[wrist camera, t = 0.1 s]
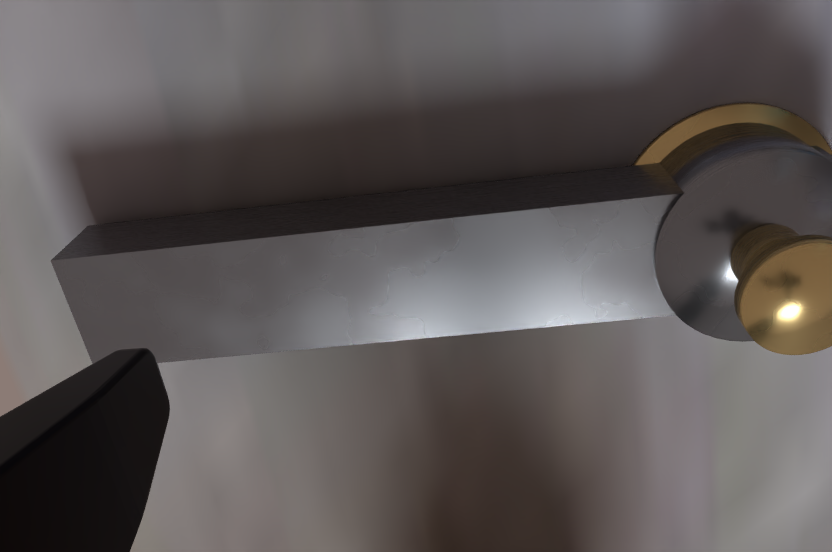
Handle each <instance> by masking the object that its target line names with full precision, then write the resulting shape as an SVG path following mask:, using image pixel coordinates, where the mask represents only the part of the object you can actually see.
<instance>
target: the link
mask: <svg viewBox="0 0 832 552" xmlns="http://www.w3.org/2000/svg"><path fill="white" fill-rule="evenodd" d="M770 224H778V225H784V226H787V227H789V228H791V229H793V230H794V231H796V232H797V233H798V234H799V235H800V236H802V235H823V236H828V237H832V155H831V154H829V153H828V152H826V151H825V150H823V149H822V148H820V147H819V146H817V145H816V146H810V145H808V144H807V143H805V142H804V141H802V140H801V139H799V138H798V137H796V136H795V135H793V134H791V133H789V132H788V131H786V130H783V129H781V128H778V127H775V126H772V125H767V124H762V123H750V122H747V123H733V124H728V125H722V126H719V127H715V128H712V129H709V130H706V131H704V132H702V133H699V134H697V135H695V136H693V137H691V138H690V139H688V140H686V141H684V142H683V143H682V144H680V145H679V146H677V147H676V148H675V149H673V150H672V151H671V152H670V153H669V154H668V155H667V156H666V157H664V158H663V159H662V161H661V162H660V163H653V164H644V165H635V166H626V167H616V168H607V169H598V170H589V171H580V172H571V173H562V174H553V175H544V176H535V177H526V178H517V179H508V180H499V181H490V182H481V183H472V184H463V185H454V186H444V187H435V188H426V189H417V190H408V191H399V192H390V193H381V194H372V195H363V196H354V197H345V198H336V199H327V200H318V201H309V202H300V203H291V204H281V205H272V206H263V207H254V208H245V209H236V210H227V211H218V212H209V213H200V214H191V215H182V216H173V217H164V218H155V219H146V220H137V221H128V222H119V223H109V224H100V225H91V226H87V227H86V228H85V229H84V230H83V231H82V232H81V233H80V234H79V235H78V236H77V237H76V238H74V239H73V240H72V241H71V242H70V243H69V244H68V245H67V246H66V247H65V248H64V249H63V250H62V251H61V252H59V253H58V254H57V255H56V256H55V257H54V258H53V259H52V260H51V263H52V265H53V268H54V270H55V272H56V275H57V277H58V280H59V282H60V285H61V287H62V290H63V292H64V294H65V297H66V299H67V302H68V304H69V307H70V309H71V312H72V314H73V317H74V319H75V321H76V324H77V326H78V329H79V331H80V334H81V336H82V339H83V341H84V344H85V346H86V348H87V351H88V353H89V356H90V358H91V361H92V363H93V364H94V363H95V362H97V361H99V360H101V359H102V358H104V357H106V356H108V355H109V354H111V353H113V352H115V351H117V350H122V349H136V348H147V349H148V350H150V351H151V352H152V353H153V355H154V356H155V359H156V361H157V363H162V362H173V361H184V360H195V359H205V358H216V357H227V356H238V355H249V354H260V353H271V352H281V351H292V350H303V349H314V348H325V347H336V346H347V345H357V344H368V343H379V342H390V341H401V340H412V339H423V338H433V337H444V336H455V335H466V334H477V333H488V332H499V331H509V330H520V329H531V328H542V327H553V326H564V325H575V324H585V323H596V322H607V321H618V320H629V319H640V318H651V317H661V316H672V315H677V316H678V317H679V318H680V319H681V320H682V321H683V322H684V323H686V324H687V325H689V326H690V327H692V328H693V329H695V330H697V331H699V332H701V333H703V334H705V335H709V336H712V337H715V338H719V339H724V340H729V341H754V340H753V339H752V338H751V336H750V335H749V334H748V332H747V331H746V329H745V328H744V326H743V325H742V324H741V322H740V320H739V319H738V317H737V314H736V311H735V306H734V295H735V289H736V286H737V283H738V279H737V278H736V277H735V275H734V274H733V272H732V269H731V255H732V252H733V250H734V248H735V246H736V244H737V243H738V242H739V240H740V239H741V238H742V237H743V236H745V235H746V234H747V233H749V232H750V231H752V230H754V229H756V228H758V227H761V226H765V225H770Z"/></svg>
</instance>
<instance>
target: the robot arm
mask: <svg viewBox="0 0 832 552" xmlns="http://www.w3.org/2000/svg"><path fill="white" fill-rule="evenodd" d="M169 412H170V405H169V399H168V395H167V392H166V389H165V386H164V383H163V380H162V377H161V374H160V370H159V367H158V364H157V361H156V359H155V356H154V355H153V353H152V352H151V351H150V350H148V349H147V348H136V349H122V350H117V351H115V352H113V353H111V354H109V355H108V356H106V357H104V358H102V359H101V360H99V361H97V362H95V363H94V364H92V365H90V366H88V367H87V368H85V369H83V370H81V371H80V372H78V373H76V374H74V375H73V376H71V377H69V378H67V379H66V380H64V381H62V382H60V383H59V384H57V385H55V386H53V387H52V388H50V389H48V390H46V391H45V392H43V393H41V394H39V395H38V396H36V397H34V398H32V399H30V400H29V401H27V402H25V403H23V404H22V405H20V406H18V407H16V408H15V409H13V410H11V411H10V412H8V413H6V414H4V415H2V416H1V417H0V552H130V549H131V547H132V544H133V542H134V539H135V536H136V534H137V531H138V528H139V525H140V523H141V520H142V517H143V513H144V510H145V507H146V503H147V500H148V496H149V492H150V488H151V484H152V480H153V477H154V473H155V469H156V465H157V461H158V457H159V454H160V450H161V446H162V442H163V438H164V434H165V431H166V427H167V423H168V419H169Z"/></svg>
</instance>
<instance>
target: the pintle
mask: <svg viewBox="0 0 832 552" xmlns="http://www.w3.org/2000/svg"><path fill="white" fill-rule="evenodd" d="M747 122H750V123H762V124H767V125H772V126H775V127H778V128H781V129H783V130H786V131H788V132H789V133H791V134H793V135H795V136H796V137H798V138H799V139H801V140H802V141H804V142H805V143H807V144H808V145H810V146H816V145H817V146H819V147H820V148H822V149H823V150H825V151H826V152H828V153H829V154H831V155H832V151H831V149H830V147H829V146H828V144H827V142H826V141H825V139H824V138H823V137H822V136H821V135H820V133H819V132H818V131H817V130H816V129H815V128H814V127H813V126H811V125H810V124H809V123H807V122H806V121H805V120H803V119H802V118H800V117H798V116H796V115H795V114H793V113H791V112H789V111H786V110H784V109H781V108H778V107H775V106H770V105H766V104H759V103H732V104H726V105H720V106H716V107H712V108H709V109H706V110H702V111H700V112H697V113H695V114H693V115H691V116H688V117H686V118H684V119H683V120H681V121H679V122H677V123H676V124H674V125H672V126H671V127H670V128H668V129H667V130H665V131H664V132H663V133H661V134H660V135H659V136H658V137H657V138H656V139H655V140H654V141H652V142H651V143H650V144H649V145H648V146H647V148H646V149H645V150H644V151H643V152H642V153H641V154H640V156H639V157H638V158H637V160H636V161H635V163H634V164H633V166H635V165H644V164H653V163H660V162H661V161H662V159H663V158H664V157H666V156H667V155H668V154H669V153H670V152H671V151H672V150H673V149H675V148H676V147H677V146H679V145H680V144H682V143H683V142H684V141H686V140H688V139H690V138H691V137H693V136H695V135H697V134H699V133H702V132H704V131H706V130H709V129H712V128H715V127H719V126H722V125H728V124H733V123H747ZM731 269H732V272H733V274H734V275H735V277H736V278H737V279H738V283H737V286H736V289H735V295H734V306H735V311H736V314H737V317H738V319H739V320H740V322H741V324H742V325H743V326H744V328H745V329H746V331H747V332H748V334H749V335H750V336H751V338H752V339H753V340H754V341H755V342H756V343H757V344H759V345H760V346H762V347H763V348H765V349H767V350H770V351H772V352H776V353H780V354H786V355H802V354H809V353H813V352H817V351H820V350H823V349H826V348H828V347H830V346H832V237H828V236H823V235H802V236H800V235H799V234H798V233H797V232H796V231H794V230H793V229H791V228H789V227H787V226H784V225H778V224H770V225H765V226H761V227H758V228H756V229H754V230H752V231H750V232H749V233H747V234H746V235H745V236H743V237H742V238H741V239H740V240H739V242H738V243H737V244H736V246H735V248H734V250H733V252H732V255H731Z"/></svg>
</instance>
